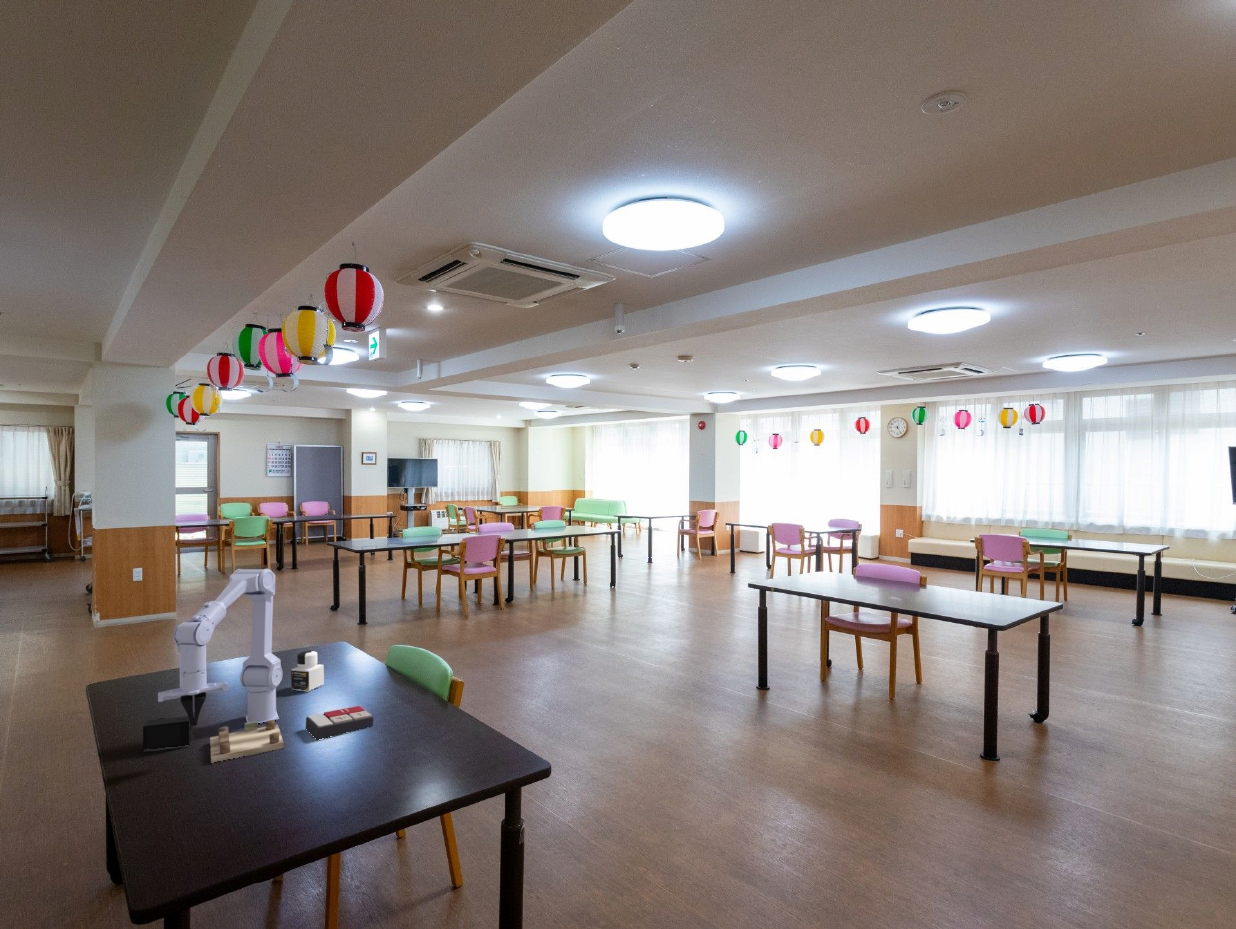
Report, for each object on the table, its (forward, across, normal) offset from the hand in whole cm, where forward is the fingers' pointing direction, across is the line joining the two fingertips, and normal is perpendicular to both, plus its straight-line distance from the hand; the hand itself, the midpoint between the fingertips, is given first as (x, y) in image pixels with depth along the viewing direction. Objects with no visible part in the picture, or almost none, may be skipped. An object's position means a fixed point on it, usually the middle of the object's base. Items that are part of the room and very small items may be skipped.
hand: (193, 724), depth 168 cm
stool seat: (+9, +12, +2) cm, 15 cm away
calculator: (+9, +34, +1) cm, 35 cm away
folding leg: (+7, +6, +3) cm, 10 cm away
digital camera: (+9, -6, +14) cm, 17 cm away
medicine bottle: (+9, +32, +44) cm, 55 cm away
